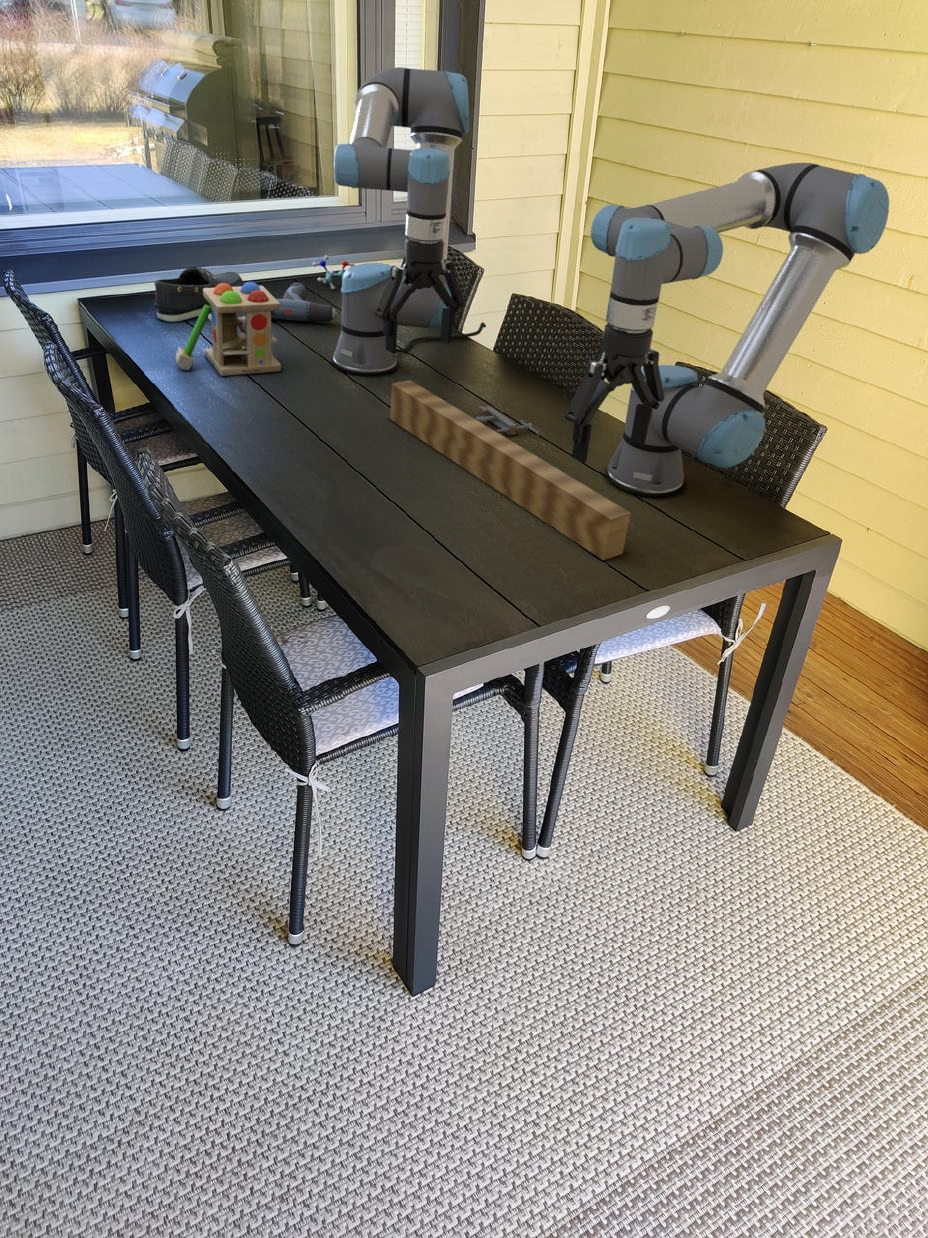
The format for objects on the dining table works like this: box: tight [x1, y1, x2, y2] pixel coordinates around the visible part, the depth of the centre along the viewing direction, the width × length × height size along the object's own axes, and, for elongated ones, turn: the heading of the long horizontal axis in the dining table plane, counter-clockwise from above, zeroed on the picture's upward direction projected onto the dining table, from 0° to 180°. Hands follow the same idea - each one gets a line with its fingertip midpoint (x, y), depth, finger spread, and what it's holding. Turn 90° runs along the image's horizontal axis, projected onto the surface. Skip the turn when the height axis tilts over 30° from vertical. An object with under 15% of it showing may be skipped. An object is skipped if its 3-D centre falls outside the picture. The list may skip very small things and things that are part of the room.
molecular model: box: [312, 255, 355, 291], centre depth 288 cm, size 12×10×10 cm
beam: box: [390, 380, 632, 561], centre depth 190 cm, size 67×5×8 cm, turn 37°
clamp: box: [474, 405, 542, 437], centre depth 212 cm, size 15×2×10 cm
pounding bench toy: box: [174, 281, 282, 377], centre depth 225 cm, size 23×14×18 cm, turn 116°
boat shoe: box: [153, 265, 244, 323], centre depth 262 cm, size 13×33×10 cm, turn 147°
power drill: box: [271, 282, 338, 322], centre depth 265 cm, size 5×19×20 cm
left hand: (418, 346), depth 200 cm, fingers open, 13 cm apart
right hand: (608, 450), depth 165 cm, fingers open, 13 cm apart
